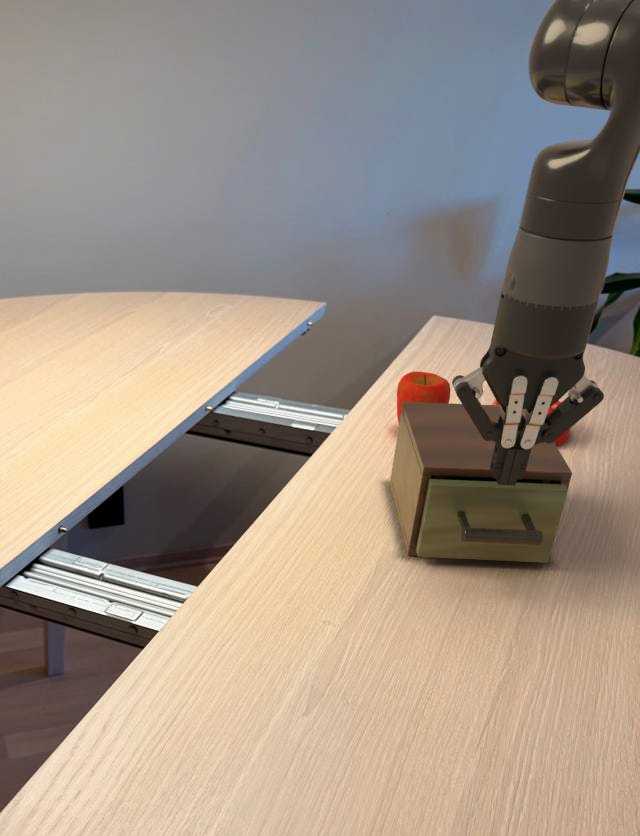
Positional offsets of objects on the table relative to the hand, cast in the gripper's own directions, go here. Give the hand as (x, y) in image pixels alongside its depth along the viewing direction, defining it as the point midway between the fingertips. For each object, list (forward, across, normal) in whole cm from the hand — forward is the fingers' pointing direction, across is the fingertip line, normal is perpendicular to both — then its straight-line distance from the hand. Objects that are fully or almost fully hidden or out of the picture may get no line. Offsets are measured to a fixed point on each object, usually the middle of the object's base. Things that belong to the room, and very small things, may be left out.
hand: (504, 481), depth 90 cm
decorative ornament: (+10, -12, -35) cm, 38 cm away
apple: (+10, +2, -33) cm, 35 cm away
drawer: (+9, 0, -6) cm, 11 cm away
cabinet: (+10, 0, -11) cm, 15 cm away
